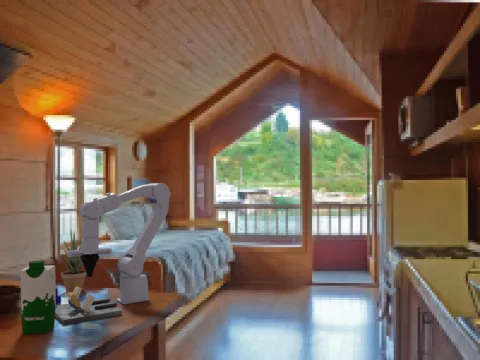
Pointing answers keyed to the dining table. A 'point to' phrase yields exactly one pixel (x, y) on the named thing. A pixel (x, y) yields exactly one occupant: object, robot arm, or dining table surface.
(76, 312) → the panel
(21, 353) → the dining table surface
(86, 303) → the ivory paddle
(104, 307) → the cords
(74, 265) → the potted plant
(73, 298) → the orange paddle
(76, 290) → the ivory paddle
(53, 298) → the milk carton
